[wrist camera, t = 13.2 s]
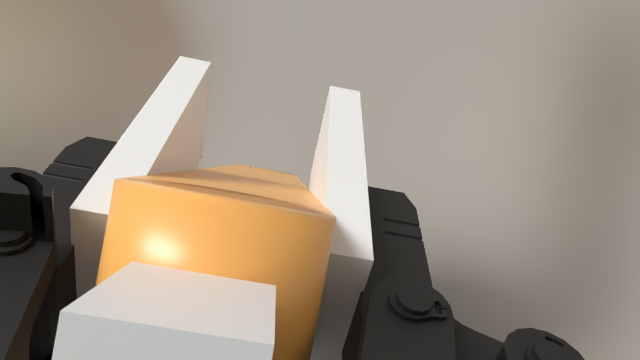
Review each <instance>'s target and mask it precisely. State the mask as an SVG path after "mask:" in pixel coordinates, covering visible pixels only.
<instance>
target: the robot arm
mask: <svg viewBox="0 0 640 360" xmlns="http://www.w3.org/2000/svg"><path fill="white" fill-rule="evenodd" d="M210 67H211V62H206V61H202V60H197V59H191V58H186V57H181V56H180V57H179V59H178V60H177V61H176V63H175V64H174V65H173V67H172V68H171V70H170V71H169V72H168V74H167V75H166V76H165V78H164V79H163V81H162V82H161V83H160V85H159V86H158V88H157V89H156V90H155V92H154V93H153V94H152V96H151V97H150V98H149V100H148V101H147V103H146V104H145V105H144V107H143V108H142V109H141V111H140V112H139V113H138V115H137V116H136V118H135V119H134V120H133V122H132V123H131V124H130V126H129V127H128V129H127V130H126V131H125V133H124V134H123V135H122V137H121V138H120V140H119V141H118V142H113V141H108V140H103V139H97V138H91V137H85V138H84V139H81V140H79V141H77V142H75V143H73V144H71V145H69V146H67V147H65V149H64V150H63V151H62V152H61V153H60V154H59V155H58V156H57V158H56V159H55V160H54V162H53V164H51V165H49V167H48V168H47V169H46V170H45V171H44V172H43V175H41V174H39V173H37V172H35V171H32V170H26V169H21V168H16V167H6V168H5V167H1V168H0V360H52V354H53V349H54V343H55V337H56V332H57V326H58V320H59V315H60V311H61V310H62V309H63V308H65V307H66V306H68V305H69V304H71V303H72V302H74V301H75V300H77V299H78V298H80V297H81V296H82V295H84V294H85V293H87V292H88V291H90V290H91V289H93V288H94V287H96V281H97V275H98V270H99V264H100V258H101V253H102V247H103V242H104V236H105V230H106V225H107V219H108V213H109V208H110V202H111V197H112V191H113V185H114V180H115V179H117V178H124V177H133V176H142V175H154V174H163V173H171V172H180V171H188V170H196V169H197V167H198V165H199V162H200V160H201V158H202V150H203V139H204V129H205V118H206V109H207V98H208V88H209V78H210ZM309 191H310V192H311V193H312V194H313V195H314V196H315V197H316V198H317V199H318V200H319V201H320V202H321V203H322V204H323V205H324V206H325V207H326V208H328V209H329V210H330V211H331V212H332V213H333V214H334V215H335V216H336V218H337V219H336V224H335V230H334V235H333V240H332V246H331V251H330V256H329V262H328V267H327V272H326V278H325V283H324V289H323V294H322V299H321V305H320V310H319V315H318V321H317V326H316V331H315V337H314V342H313V347H312V353H311V358H310V360H584V358H583V357H582V356H581V355H580V353H579V352H578V351H577V350H575V349H574V348H573V347H572V346H570V345H569V344H568V343H567V342H565V341H564V340H562V339H560V338H558V337H556V336H555V335H552V334H551V333H549V332H546V331H542V330H538V329H533V328H525V329H517V330H515V331H514V332H512V333H510V334H509V335H508V336H507V338H506V340H505V341H504V343H503V342H500V341H498V340H496V339H493V338H491V337H488V336H486V335H484V334H481V333H479V332H476V331H474V330H472V329H470V328H468V327H466V326H464V325H462V324H461V323H459V322H458V321H457V320H455V319H454V317H453V314H452V310H451V307H450V305H449V304H448V302H447V301H446V300H445V298H444V297H443V296H442V295H441V294H440V293H439V292H438V291H436V290H434V289H433V287H432V282H431V277H430V273H429V268H428V263H427V258H426V254H425V249H424V244H423V241H422V235H421V230H420V228H419V220H418V215H417V211H416V208H415V207H414V205H413V204H412V203H411V202H410V200H409V199H408V198H407V196H406V195H405V194H404V193H401V192H396V191H390V190H385V189H379V188H374V187H369V186H368V185H367V173H366V161H365V149H364V137H363V125H362V113H361V101H360V92H359V91H354V90H349V89H344V88H338V87H334V86H330V89H329V94H328V99H327V103H326V108H325V112H324V117H323V121H322V126H321V130H320V134H319V139H318V143H317V148H316V152H315V157H314V162H313V166H312V171H311V175H310V184H309Z"/></svg>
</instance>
